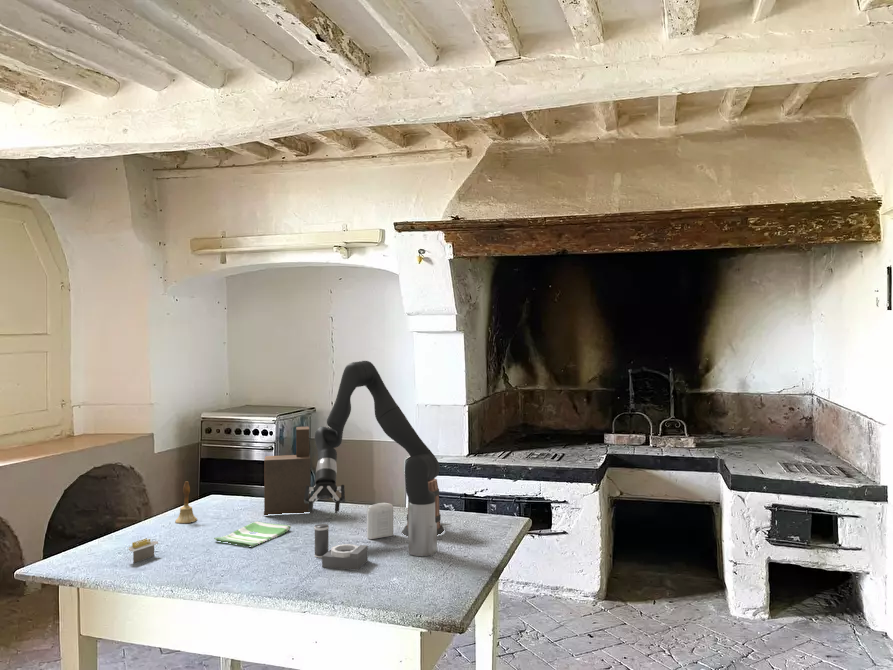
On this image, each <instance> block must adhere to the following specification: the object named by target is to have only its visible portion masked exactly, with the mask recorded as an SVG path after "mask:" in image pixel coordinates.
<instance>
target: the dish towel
mask: <svg viewBox="0 0 893 670" xmlns="http://www.w3.org/2000/svg"><path fill="white" fill-rule="evenodd" d="M291 527H292V525H289V524H277V523H268V522H262V521H253V522H251V523H249V524H248V525H244V526H243V527H240V528H239V529H236V530H235V531H233V532H231V533H230V534H227V535H224V536H220V537H219V536H217V537H214V538H213V539H214V540H215V542H216V541H221V542H228V543H231V544H237V545H244V546H251V547H253V546H255V545H257V546H259V545H261V544H260V543H262V544H264V543H263V542H265V541H267V540H269V539H272V538H274V537H276V538H278V537H277V536H279V535H281V534H283V533H284V534H286V533H287V532H288V530H289V531H290V530H291ZM253 531H254V532H258V533H256V534H250V533H249V532H253ZM285 532H286V533H285ZM284 534H283V535H284ZM281 536H282V535H281ZM279 537H280V536H279ZM274 539H275V538H274ZM272 540H273V539H272ZM269 541H270V540H269ZM267 542H268V541H267ZM265 543H266V542H265ZM258 544H259V545H258ZM237 545H236V546H237ZM244 546H243V547H244ZM255 547H256V546H255ZM253 548H254V547H253Z"/></svg>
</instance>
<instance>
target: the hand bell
mask: <svg viewBox="0 0 893 670" xmlns="http://www.w3.org/2000/svg"><path fill="white" fill-rule="evenodd" d="M190 492H191V487H190V482H189V481H184V484H183V488H182V494H183V496H184V498H183V499H184V501H183V506H182V507H180V509H179V514H178V517H177V519H175V524H183V523H184V524H190V523H191V522H192V523H194V522H196V521H198V518H197V517H196V516H195V514H194V511H193V507H192V506H190V505H189V497H190ZM184 524H183V525H184Z"/></svg>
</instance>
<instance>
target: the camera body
mask: <svg viewBox="0 0 893 670" xmlns="http://www.w3.org/2000/svg"><path fill="white" fill-rule="evenodd" d="M368 548H369V547H368V545H362V544H360V545H356V544H349V543H345V544H338V545H334V546H332V547H331V548H330V549H329V551H328V552H327V553H326V554H324V555H323V556H322V558H321V567H322V568H327V567H329V569H340V570H352V571H353V570H355V571H358V570H360V568H361V567H362V566H364V564H366V563H367V562H368Z"/></svg>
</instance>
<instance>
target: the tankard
mask: <svg viewBox="0 0 893 670" xmlns="http://www.w3.org/2000/svg"><path fill="white" fill-rule="evenodd" d="M428 488H429V491H431V492H433V493H434V494H435V522H436V523H437V535H438V534H441V533H442V532H443V531H444V530H445V529H444V527H443V525H442V524H441V517H442V515H441V511H440V510H441V509H440V488H439V484H438V479H437V478H436V477H435V478H434V479H431V480H428ZM406 521H407V522H406V523H407V524H406V525H405V526H404V528H403V529H402V530H401V534H402V533H403V534H404V535H406V536H405V537H407V536H408V513H407V514H406ZM403 534H402V535H403ZM404 535H403V536H404Z"/></svg>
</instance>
